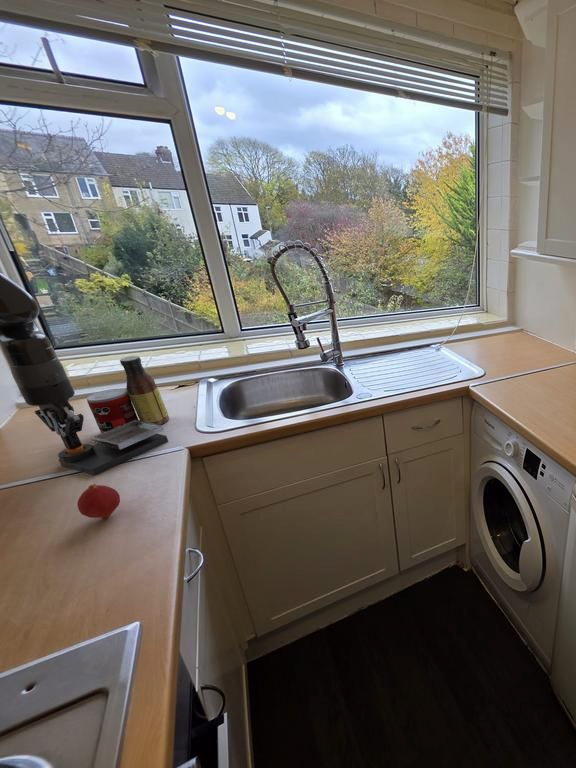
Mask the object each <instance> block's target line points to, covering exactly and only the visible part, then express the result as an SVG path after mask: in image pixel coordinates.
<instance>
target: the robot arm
mask: <svg viewBox="0 0 576 768" xmlns="http://www.w3.org/2000/svg"><path fill="white" fill-rule="evenodd" d="M39 315H40V305H39V303H38V301H37V300H36V299H35V298H34V297H33V296H32V295H31V294H30V293H29V292H28V291H26V290H25V289H24V288H22V286H20V285H19V284H17V283H16V282H15V281H13V280H12V279H10V278H9V277H7V276H6V275H5V274H3V273H1V272H0V349H1V351H2V353H3V356H4V357H5V360H6V361H7V364H8V365H9V369H10V372H11V375H12V378H13V380H14V382H15V384H16V386H17V387H18V389H19V392H20V394H21V396H22V397H23V400H24V402H25V403H26V404H27V405H28V406H31V407H32V406H33V407H38V408H39V409H37V410H34V414H35V415H36V416H37V417H38V418H39V419H40V420H41V421H42V422H43V424H45V425H46V427H47V428H48V429H49V430H50V431H51V432H53V433H56V435H57V436H59V437H60V439H61V440H62V442H63V445H64V446H65V449H71V450H73V449H75V448H78V447H80V446H81V445H82V444H83V443H82V442H81V440H80V437H79V436H78V432H79V433H80V432H81V431H82V430H83V427H84V418H85V416H84V415H83V414H82V413H77V414H76V413H75V409H74V407H73V405H72V404H71V403H70V402H69V399H72V398H73V397H74V396H75V390H74V388H73V385H72V383H71V381H70V379H69V377H68V374H67V372H66V370H65V367H64V366H63V363H61V361H60V359H59V358H58V356H57V353H56V351H55V348H54V346H53V344H52V343H51V340H50V339H49V337H48V336H47V335H46V334H45V333H44V332H42V331H41V330H40V329H39V327H38V324H37V323H36V321H35V320H36V319H37V318H38V317H39Z"/></svg>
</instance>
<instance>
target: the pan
mask: <svg viewBox="0 0 576 768" xmlns="http://www.w3.org/2000/svg"><path fill="white" fill-rule="evenodd" d="M163 431H165V428H164V426H163V424H160V425H158V424H153V423H149V422H145V421H140V420H139V419H138V420H133V421H131V422H128V423H126V424H123V425H121V426H118V427H116V428H113V429H111V430H108V431H106V432H103V433H101V432H100V433H98V434H96V435H93V436H91V437H90V438H89V439H90V441H91V444H92V443H93V444H100V445H104V446H108V447H111V448H115V449H119V450H120V449H123V448H125V447H127V446H130V445H132V444H134V443H136V442H139V441H141V440H143V439H145V438H148V437H150V436H152V435H155V434H160V433H161V432H163Z"/></svg>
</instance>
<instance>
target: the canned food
mask: <svg viewBox="0 0 576 768" xmlns="http://www.w3.org/2000/svg"><path fill="white" fill-rule="evenodd" d="M86 402H87V404H88V407H89V409H90V411H91V413H92V416H93V419H94V421H95V422H96V425H97V427H98V429H99V431H100V434H101V433H103V432H106V431H108V430H111V429H113V428H116V427H118V426H121V425H123V424H126V423H128V422H131V421H133V420H139V417H138V415H137V413H136V410H135V408H134V406H133V403H132V401H131V399H130V397H129V395H128V392H127V390H126V388H111V389H105V390H101V391H98V392H95V393H93V394H92V393H91V394H90V395H89V396H87V397H86Z"/></svg>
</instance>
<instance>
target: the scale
mask: <svg viewBox="0 0 576 768" xmlns="http://www.w3.org/2000/svg"><path fill="white" fill-rule="evenodd" d="M166 443H169V439H168V437H167V435H165V434H160V433H157V434H155V435H152V436H150V437H148V438H145V439H143V440H141V441H139V442H136V443H134V444H132V445H130V446H127V447H125V448H123V449H120V450H119V449H115V448H111V447H108V446H104V445H100V444H96V443H94V444H92V443H91V444H90V443H81V444H82V445H83V447H84V450H83V451H80V452H78V453H74V454H68V453H67V451H66V449H67V448H64V449H62V450H61V451H59V452H58V456H57V457H58V462H59V464H60V467H63V468H67V469H70V470H74V471H76V472H80V473H84V474H86V475H90V476H94V477H96V476H98V475H101V474H102V473H104V472H106V471H109V470H111V469H113V468H115V467H118V466H119V465H122V464H123V463H126V462H129V461H130V460H133V459H134V458H137V457H139V456H141V455H144V454H145V453H147V452H149V451H151V450H153V449H156V448H159V447H160V446H162V445H164V444H166Z"/></svg>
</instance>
